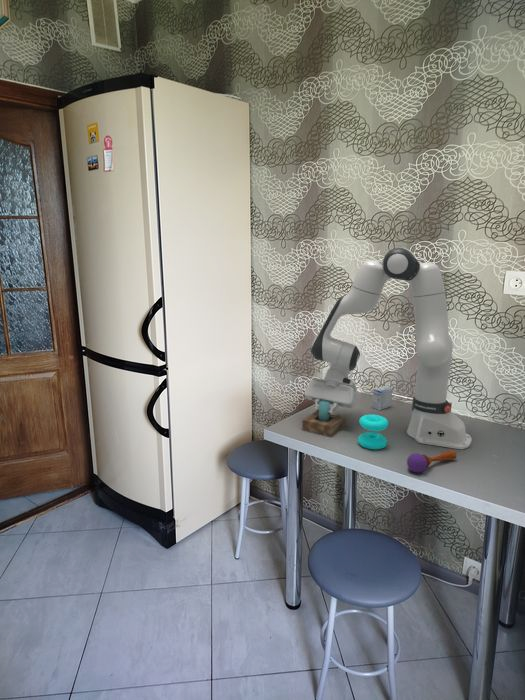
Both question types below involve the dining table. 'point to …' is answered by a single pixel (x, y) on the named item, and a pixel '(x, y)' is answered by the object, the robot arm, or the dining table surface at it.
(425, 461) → the kendama
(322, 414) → the teal rounded cylinder
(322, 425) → the brown square frame block
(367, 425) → the donuts
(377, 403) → the medicine box
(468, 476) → the dining table surface
